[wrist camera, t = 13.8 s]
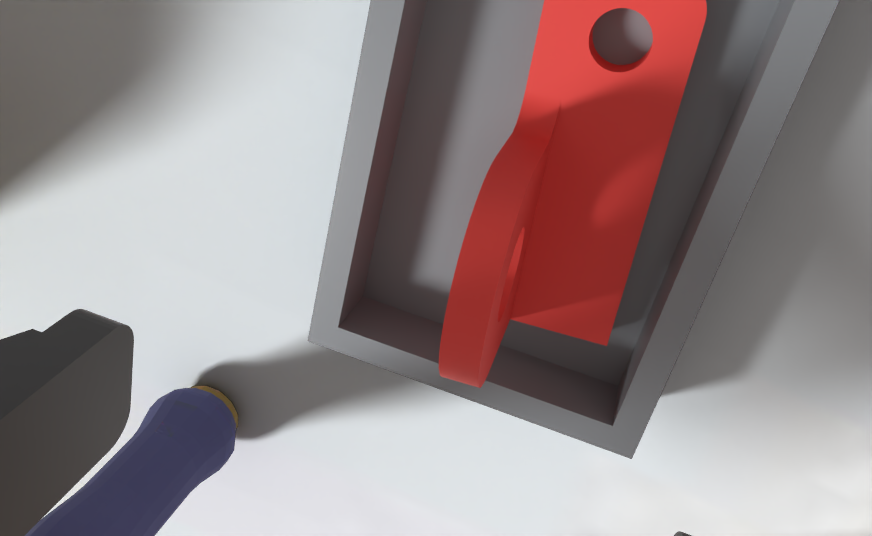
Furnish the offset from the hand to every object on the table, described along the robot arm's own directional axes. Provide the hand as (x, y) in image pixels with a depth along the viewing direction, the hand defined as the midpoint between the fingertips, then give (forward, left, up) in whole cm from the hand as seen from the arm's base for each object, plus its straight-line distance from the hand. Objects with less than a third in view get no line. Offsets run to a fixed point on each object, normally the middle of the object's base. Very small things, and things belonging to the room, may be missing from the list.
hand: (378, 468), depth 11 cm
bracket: (0, +1, -17) cm, 17 cm away
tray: (0, 0, -18) cm, 18 cm away
